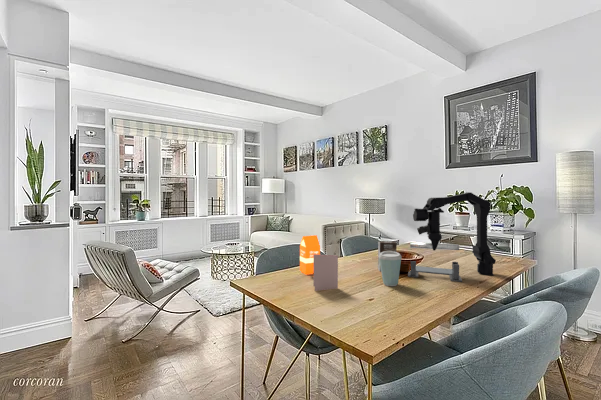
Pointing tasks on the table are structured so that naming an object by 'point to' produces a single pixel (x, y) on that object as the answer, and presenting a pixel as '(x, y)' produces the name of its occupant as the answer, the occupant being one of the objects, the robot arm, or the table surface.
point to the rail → (440, 246)
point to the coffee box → (385, 248)
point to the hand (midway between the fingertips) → (434, 249)
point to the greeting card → (325, 272)
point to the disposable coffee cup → (390, 267)
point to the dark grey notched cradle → (453, 277)
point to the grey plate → (434, 270)
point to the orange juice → (308, 253)
